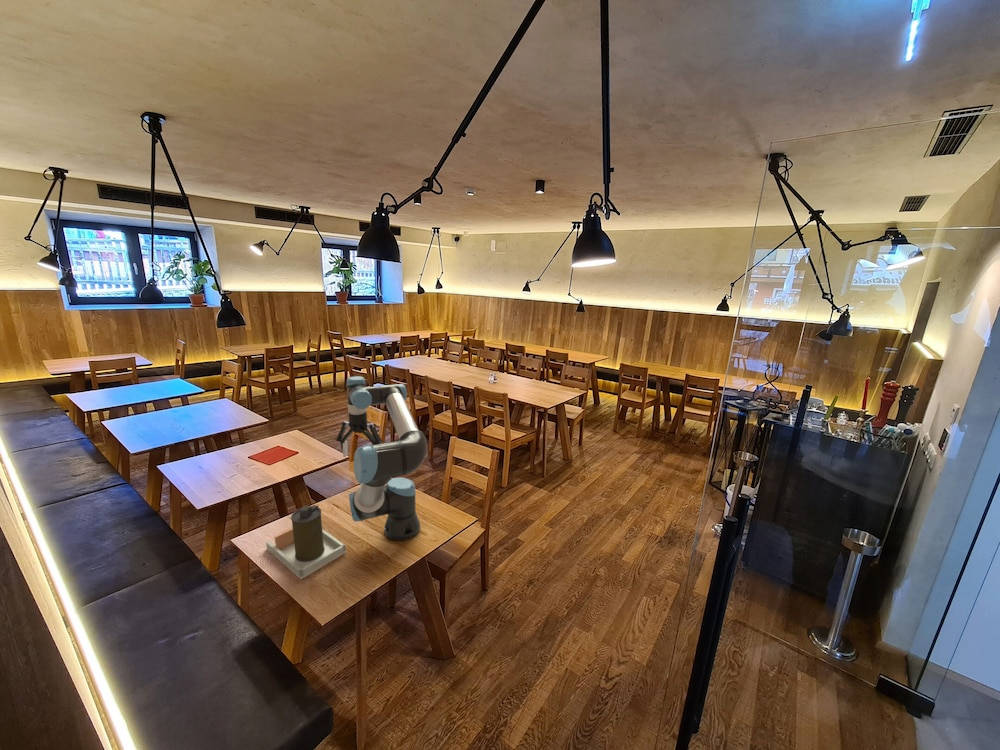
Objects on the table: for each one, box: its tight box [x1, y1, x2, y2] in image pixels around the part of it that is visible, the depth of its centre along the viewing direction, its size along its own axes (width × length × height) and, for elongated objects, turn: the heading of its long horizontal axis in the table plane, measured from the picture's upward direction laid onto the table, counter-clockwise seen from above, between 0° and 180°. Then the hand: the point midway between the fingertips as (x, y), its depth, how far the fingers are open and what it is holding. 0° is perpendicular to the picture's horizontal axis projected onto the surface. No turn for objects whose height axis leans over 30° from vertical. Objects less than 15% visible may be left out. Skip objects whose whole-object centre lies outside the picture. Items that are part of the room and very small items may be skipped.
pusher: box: [274, 526, 294, 550], centre depth 159 cm, size 7×15×6 cm, turn 144°
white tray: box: [265, 528, 347, 580], centre depth 153 cm, size 26×18×3 cm
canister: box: [290, 504, 325, 562], centre depth 149 cm, size 11×10×20 cm
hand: (360, 457), depth 172 cm, fingers open, 13 cm apart
